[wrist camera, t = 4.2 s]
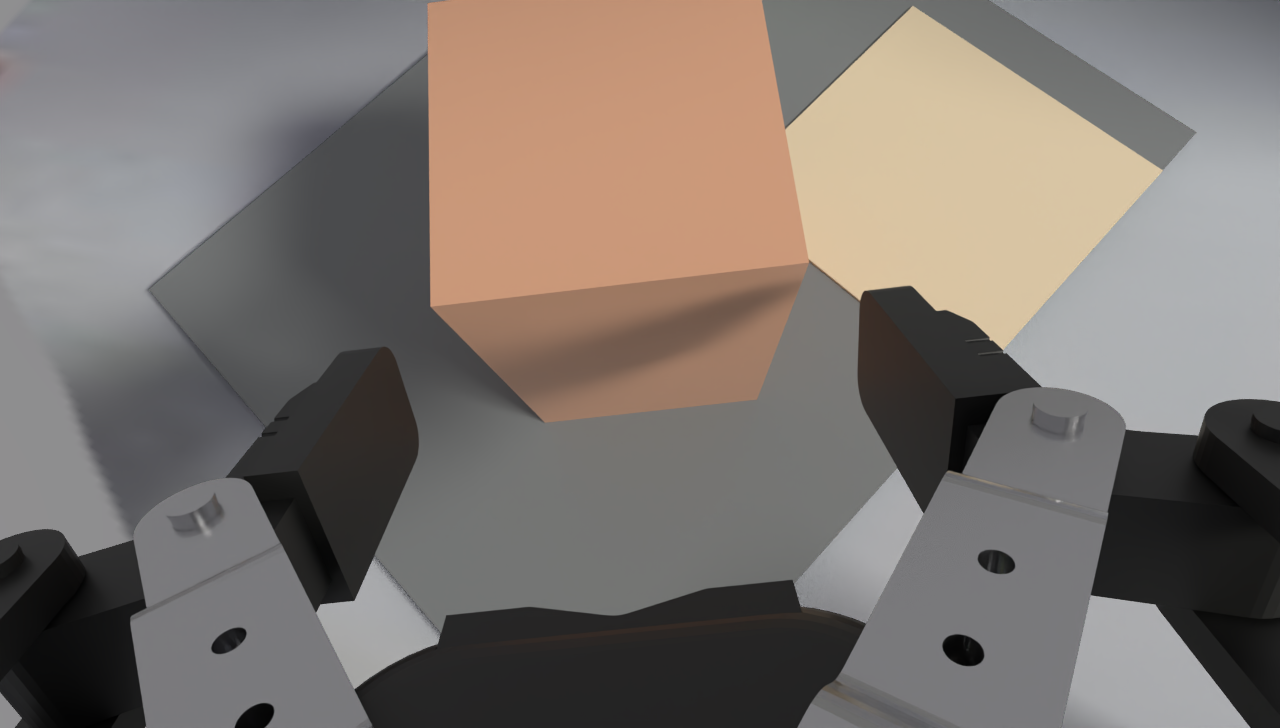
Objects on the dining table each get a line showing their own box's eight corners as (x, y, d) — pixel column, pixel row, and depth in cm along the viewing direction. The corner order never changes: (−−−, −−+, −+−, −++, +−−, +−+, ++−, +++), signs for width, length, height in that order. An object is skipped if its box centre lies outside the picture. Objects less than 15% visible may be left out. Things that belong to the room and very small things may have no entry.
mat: (705, -165, 29) (705, -183, 28) (1184, 142, 24) (1198, 130, 23) (161, 295, 25) (146, 288, 24) (594, 803, 19) (591, 811, 19)
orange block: (534, 232, 24) (428, 2, 14) (728, 208, 23) (754, -41, 14) (545, 422, 22) (430, 306, 12) (757, 399, 22) (809, 262, 12)
